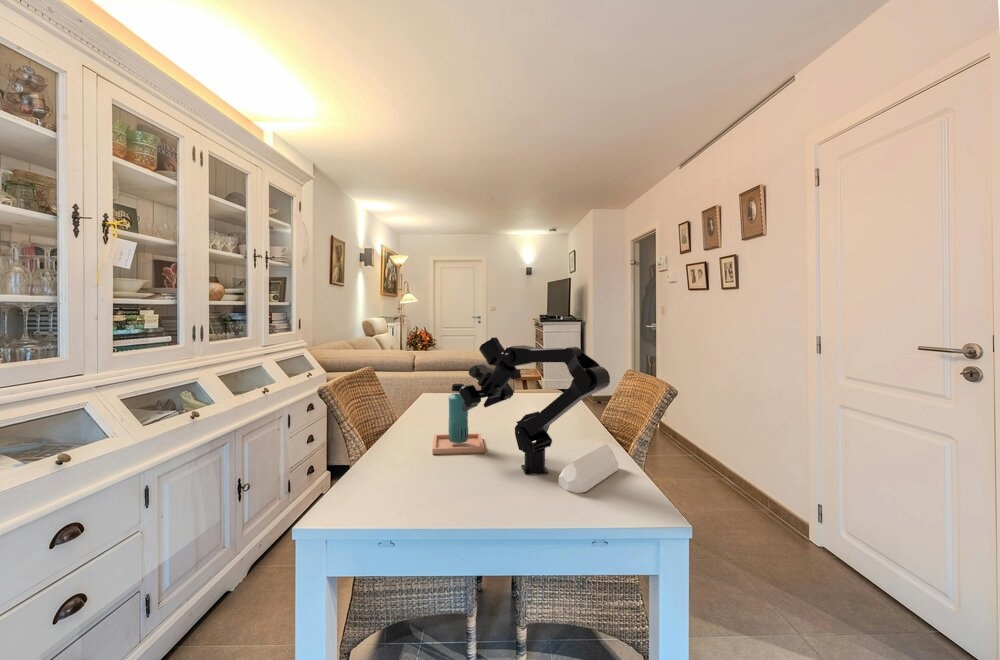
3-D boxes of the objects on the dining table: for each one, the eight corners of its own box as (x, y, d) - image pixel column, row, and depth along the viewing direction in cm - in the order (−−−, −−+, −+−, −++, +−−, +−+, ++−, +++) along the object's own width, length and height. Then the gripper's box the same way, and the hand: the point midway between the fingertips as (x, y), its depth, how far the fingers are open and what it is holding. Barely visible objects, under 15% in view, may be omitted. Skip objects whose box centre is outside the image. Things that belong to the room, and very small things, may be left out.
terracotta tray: (484, 453, 137) (484, 447, 137) (432, 454, 135) (432, 449, 135) (480, 438, 153) (480, 433, 153) (433, 439, 151) (433, 434, 151)
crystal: (591, 449, 129) (547, 472, 110) (611, 441, 125) (570, 463, 106) (602, 474, 127) (560, 501, 108) (623, 466, 123) (583, 493, 104)
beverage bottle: (461, 449, 139) (461, 386, 139) (444, 445, 143) (444, 384, 142) (472, 443, 145) (472, 383, 144) (455, 440, 148) (455, 381, 147)
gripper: (506, 354, 141) (482, 385, 149) (463, 359, 127) (439, 392, 135) (525, 381, 136) (499, 411, 144) (482, 389, 122) (456, 422, 130)
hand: (474, 408), depth 138 cm, fingers open, 9 cm apart
